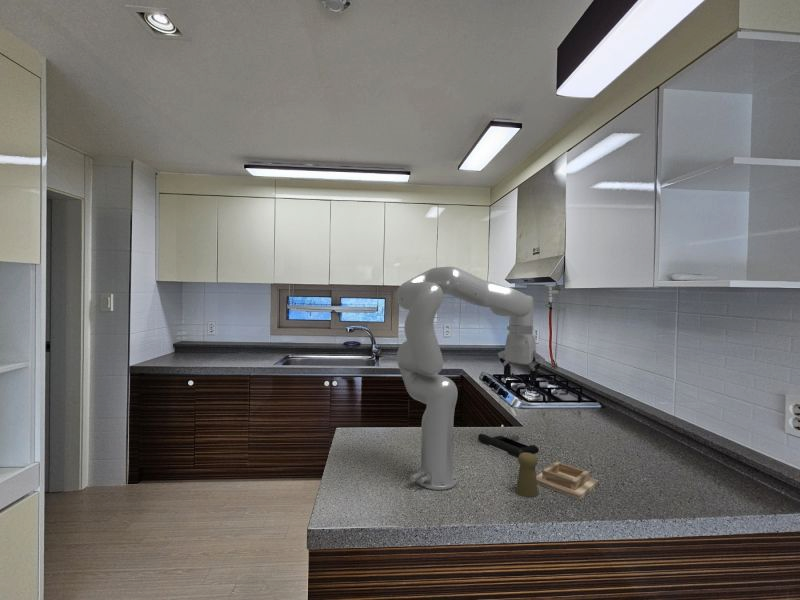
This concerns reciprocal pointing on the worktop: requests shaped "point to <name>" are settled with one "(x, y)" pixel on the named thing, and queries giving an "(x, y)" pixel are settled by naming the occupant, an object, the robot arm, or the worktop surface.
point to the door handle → (507, 444)
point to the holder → (567, 480)
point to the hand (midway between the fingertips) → (519, 379)
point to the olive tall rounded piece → (527, 475)
